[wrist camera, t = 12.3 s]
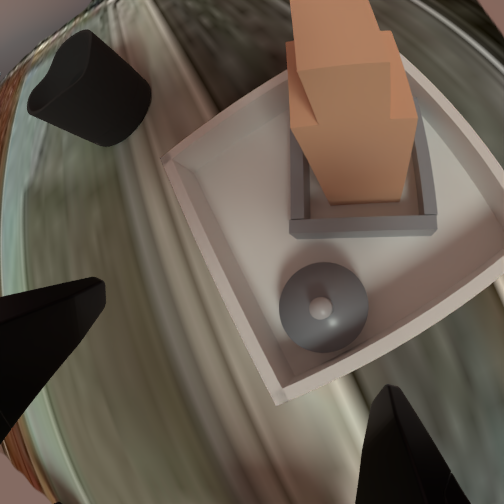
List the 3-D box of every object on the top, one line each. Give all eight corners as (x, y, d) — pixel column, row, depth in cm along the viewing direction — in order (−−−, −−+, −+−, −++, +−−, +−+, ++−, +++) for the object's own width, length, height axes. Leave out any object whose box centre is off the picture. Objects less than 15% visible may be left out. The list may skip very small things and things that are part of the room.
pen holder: (92, 109, 33) (33, 74, 23) (150, 64, 30) (93, 15, 21) (95, 167, 30) (22, 134, 21) (162, 118, 28) (90, 65, 18)
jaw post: (399, 202, 18) (426, 61, 6) (330, 205, 20) (260, 77, 8) (390, 138, 19) (385, -25, 7) (326, 142, 20) (260, -8, 8)
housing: (516, 249, 15) (543, 239, 12) (293, 387, 20) (276, 406, 16) (371, 60, 21) (367, 26, 17) (188, 176, 25) (160, 158, 21)
